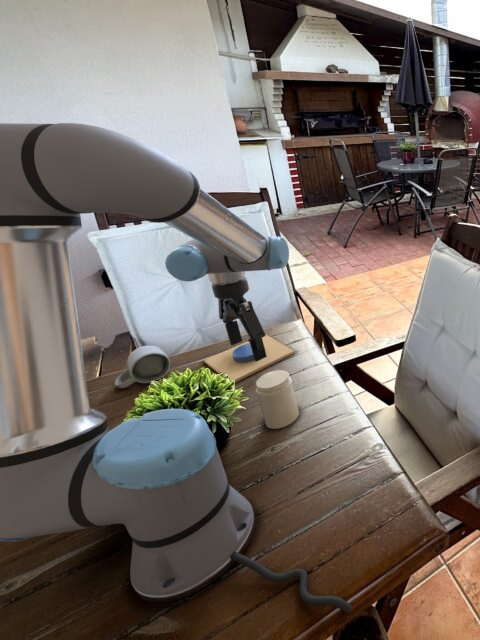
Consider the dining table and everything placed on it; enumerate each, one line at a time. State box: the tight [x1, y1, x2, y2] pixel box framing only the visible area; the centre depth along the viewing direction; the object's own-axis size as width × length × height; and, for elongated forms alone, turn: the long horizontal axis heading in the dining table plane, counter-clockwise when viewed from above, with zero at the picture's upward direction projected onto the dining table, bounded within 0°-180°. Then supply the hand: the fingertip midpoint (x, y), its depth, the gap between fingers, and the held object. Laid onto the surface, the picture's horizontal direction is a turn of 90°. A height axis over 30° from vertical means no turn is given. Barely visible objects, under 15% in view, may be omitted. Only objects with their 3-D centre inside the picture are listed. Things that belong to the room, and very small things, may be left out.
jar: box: [255, 369, 300, 430], centre depth 87 cm, size 7×7×10 cm
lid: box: [233, 343, 265, 363], centre depth 109 cm, size 7×7×2 cm
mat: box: [203, 333, 295, 383], centre depth 109 cm, size 16×16×1 cm
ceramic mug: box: [114, 345, 171, 389], centre depth 100 cm, size 11×8×8 cm
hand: (248, 350), depth 109 cm, fingers open, 13 cm apart
